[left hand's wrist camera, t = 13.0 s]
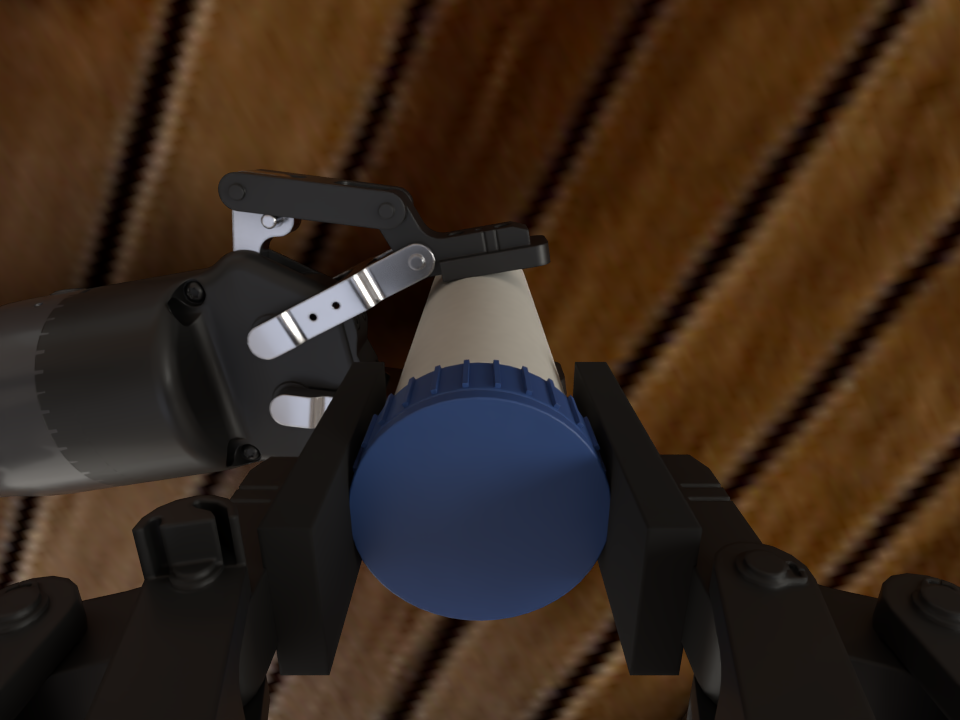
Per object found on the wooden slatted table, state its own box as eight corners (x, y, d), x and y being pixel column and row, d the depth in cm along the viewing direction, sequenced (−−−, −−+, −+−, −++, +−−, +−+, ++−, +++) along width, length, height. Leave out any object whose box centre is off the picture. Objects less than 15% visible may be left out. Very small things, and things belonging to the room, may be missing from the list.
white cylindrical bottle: (427, 324, 28) (356, 569, 12) (441, 234, 26) (381, 374, 10) (516, 338, 28) (564, 598, 12) (534, 250, 26) (617, 412, 10)
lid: (559, 582, 13) (570, 645, 11) (343, 539, 13) (323, 597, 11) (631, 389, 11) (656, 429, 10) (385, 331, 11) (368, 363, 9)
